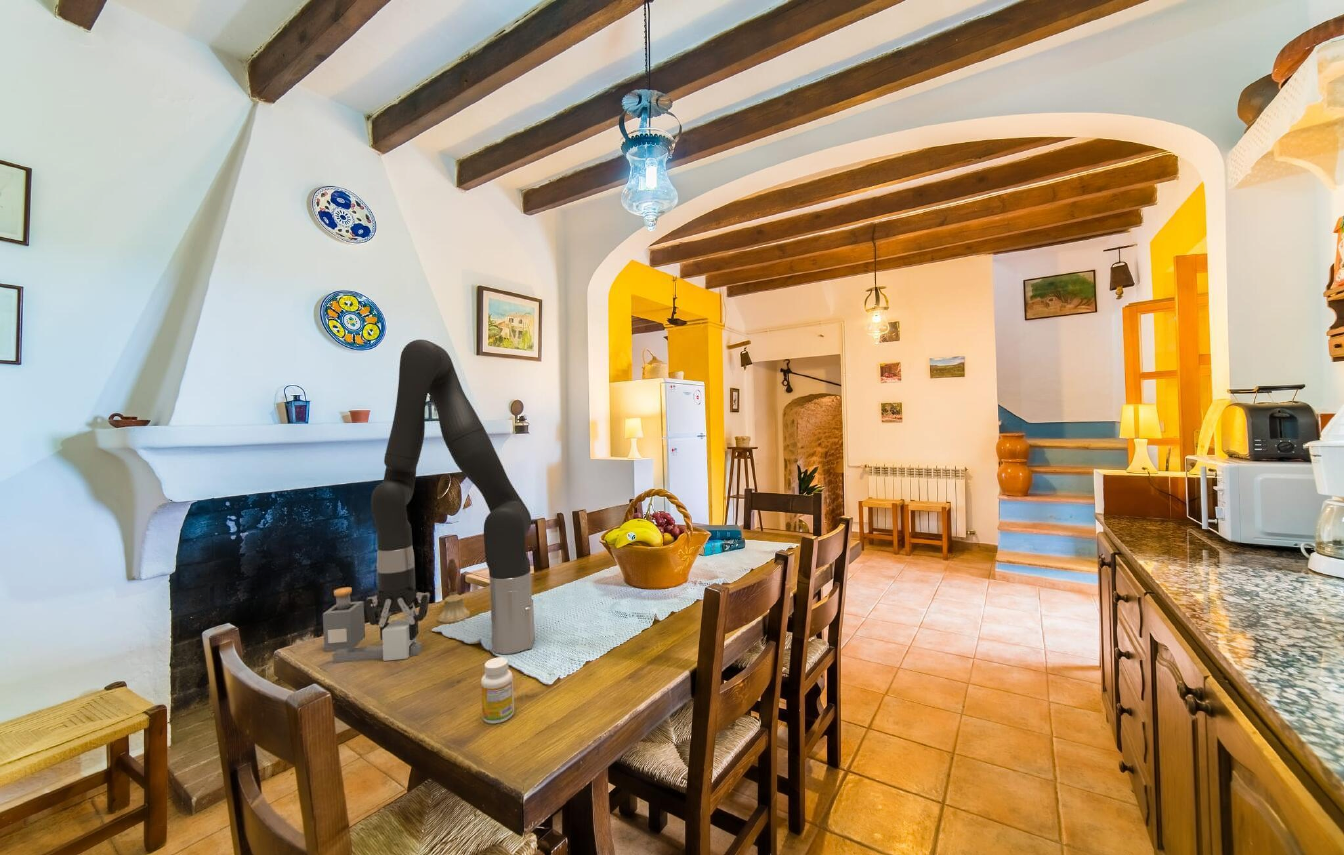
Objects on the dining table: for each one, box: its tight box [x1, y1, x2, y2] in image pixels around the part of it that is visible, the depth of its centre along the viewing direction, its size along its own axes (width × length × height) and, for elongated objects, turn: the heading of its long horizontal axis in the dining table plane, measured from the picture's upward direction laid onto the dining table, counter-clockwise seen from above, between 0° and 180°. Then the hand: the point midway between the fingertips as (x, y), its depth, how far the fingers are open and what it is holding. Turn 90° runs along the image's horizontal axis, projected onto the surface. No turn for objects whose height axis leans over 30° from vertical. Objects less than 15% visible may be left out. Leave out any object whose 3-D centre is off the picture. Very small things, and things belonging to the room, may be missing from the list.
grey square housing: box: [322, 600, 366, 653], centre depth 125 cm, size 6×7×9 cm
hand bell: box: [437, 558, 471, 624], centre depth 140 cm, size 8×8×16 cm
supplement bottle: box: [480, 656, 515, 724], centre depth 93 cm, size 5×5×10 cm
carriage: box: [382, 618, 417, 662], centre depth 119 cm, size 5×6×7 cm
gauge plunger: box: [333, 586, 353, 611], centre depth 125 cm, size 4×4×5 cm
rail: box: [332, 641, 423, 664], centre depth 118 cm, size 18×2×2 cm, turn 98°
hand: (399, 639), depth 119 cm, fingers closed on carriage, 5 cm apart
